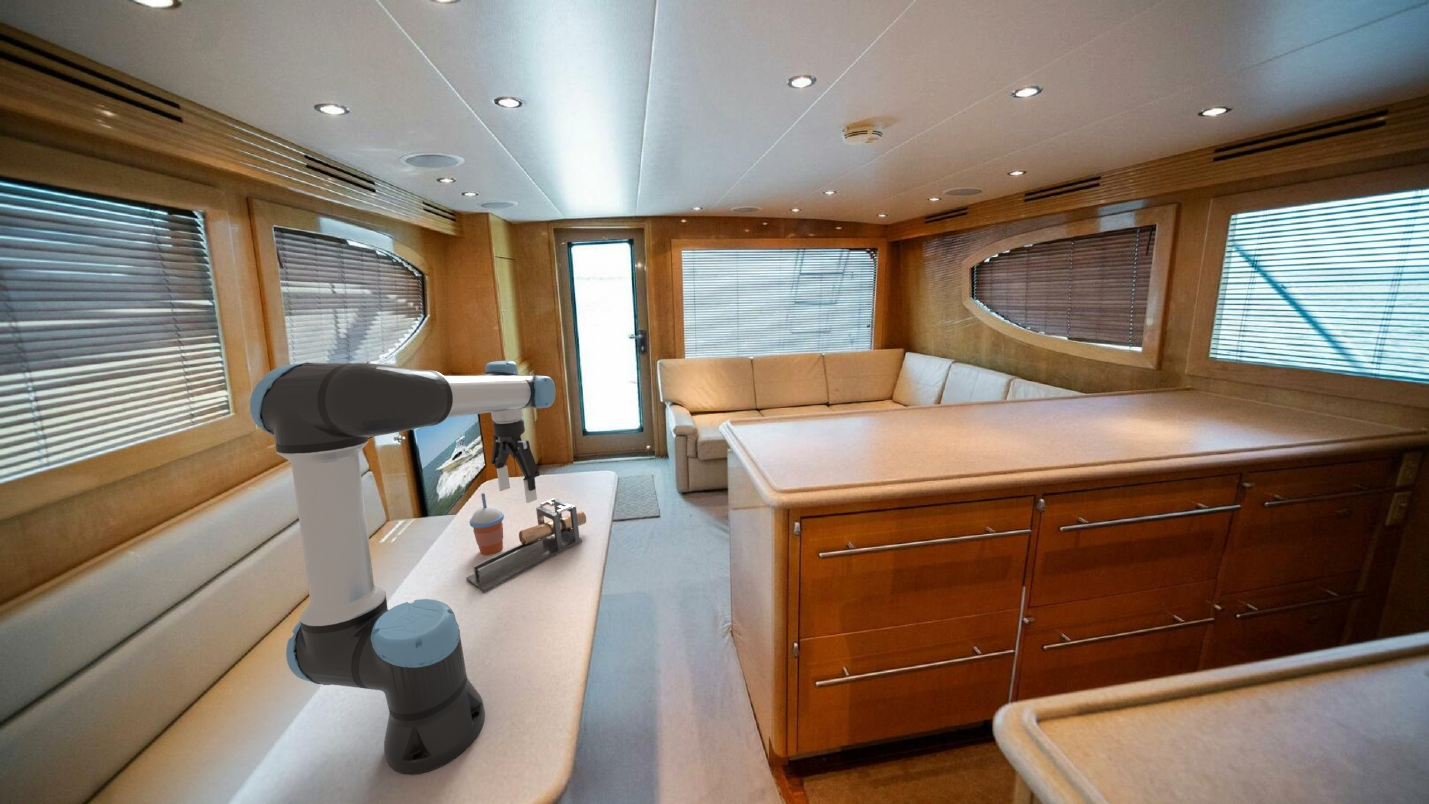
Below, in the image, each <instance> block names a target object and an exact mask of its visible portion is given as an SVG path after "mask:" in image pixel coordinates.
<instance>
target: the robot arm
mask: <svg viewBox="0 0 1429 804" xmlns="http://www.w3.org/2000/svg"><path fill="white" fill-rule="evenodd" d="M484 371H485V373H483V374H478V375H443V374H442V373H440V372H438V371H436V370H431V369H418V368H417V369H415V368H407V367H400V366H399V367H398V366H395V365H394V366H393V365H387V364H379V363H370V362H354V363H350V362H349V363H347V362H346V363H345V362H344V363H341V362H340V363H339V362H337V363H336V362H324V363H323V362H303V363H293V364H286V365H282V366H279V367H276V368H274V369H271V370H270V371H268V372H267V373H266V374H265V375H264V376H263V377H262V379H260V380H259V381H258V382H257V383H256V384H255V386H254V388H253V390H252V392H251V394H250V398H249V399H250V400H249V411H250V416H251V418H252V421H253V422H254V423H255V425H256V426H257V427H259V428H261V429H262V430H263V431H264V432H265V433H267V434H270V435H271V436H273V438H274V443H275V449H276V454H277V455H278V456H281V457H282V458H284V459H285V460H288V461H289V463H291V469H292V477H293V485H294V490H295V491H294V492H295V493H294V494H295V498H296V506H297V514H298V520H299V527H300V528H299V531H300V536H301V542H302V549H303V559H304V565H305V573H306V579H307V580H306V581H307V586H308V587H307V588H308V593H309V601H310V603H309V604H307V606H306V607H305V608H304V609H303V610H302V611H301V613H300V617H299V620H298V622H297V624H296V625H295V626H294V628H293V629H292V633H293V635H292V636H291V637H289V638H288V640H287V644H286V650H285V657H286V662H287V666H288V667H289V669H290V671H291V672H292V674H294V675H295V676H296V677H297V678H299V679H301V680H303V681H307V682H310V683H313V684H314V685H315V684H316V685H323V686H332V685H333V686H341V687H351V688H357V689H365V690H366V689H367V690H375V691H382V692H383V693H384V695H385V699H386V703H387V708H388V713H389V714H388V720H387V725H386V729H385V730H386V731H385V736H384V741H383V750H384V755H385V758H386V759H385V760H386V762H387V764H388V766H389V767H390V768H391V769H392V770H394V771H395V772H397V773H399V774H405V775H418V774H422V773H423V774H424V773H427V772H431V771H433V770H435V769H438V768H440V767H442V766H444V765H446V764H448V763H449V762H451V761H453V760H454V759H456V758H457V757H458V756H460V755H461V754H462V753H463V752H465V751H466V748H467V749H468V748H469V747H470V746H471V745H472V743H474V741H475V740H476V739H477V737H478V736H479V734H480V732H481V730H482V728H483V727H484V725H485V724H484V723H485V719H486V712H485V705H484V700H483V698H482V696H481V694H480V693H479V692H478V690H477V689H476V688H475V686H474V685H473V683H471V681H470V680H469V678H468V676H467V669H466V663H465V657H464V651H463V645H462V640H461V630H460V627H459V626H460V625H459V623H458V621H457V620H456V616H455V613H454V611H453V609H452V607H450V606H449V605H448V604H447V603H444V602H443V601H440V600H437V599H432V598H431V599H429V598H423V599H422V598H421V599H415V600H413V602H408V601H407V602H403V603H400V604H398V605H395V606H393V607H391V608H390V609H389V608H388V601H387V593H386V591H385V590H384V588H382V587H380V586H376V585H375V582H374V574H373V564H372V557H371V554H372V553H371V547H370V540H369V530H368V521H367V512H366V506H365V505H366V503H365V497H364V487H363V478H362V472H361V463H360V462H361V460H360V452H361V451H362V450H363V449H364V447H365V446H367V444H369V438H370V437H379V436H384V435H385V436H386V435H390V434H394V433H400V432H406V431H410V430H415V429H421V428H425V427H431V426H436V425H439V424H442V423H444V421H446V420H447V419H448V418H455V417H465V416H472V415H480V414H487V413H491V420H492V421H493V422H492V427H493V432H494V433H493V435H492V436H493V437H492V438H493V444H492V450H491V451H492V452H491V459H490V463H491V465H494V467H495V468H496V472H497V473H496V475H497V483H498V488H499V491H500V492H503V491H505V490H509V489H510V488H511V485H510V477H509V471H508V469H509V468H508V462H507V461H508V458H509V456H511V458H512V459H515V461H516V463H517V465H518V466H519V469H520V471H521V472H522V475H523V476H524V478H523V479H522V480H523V487H524V494H525V503H526V504H529V503H531V502H534V501H536V500H538V497H537V495H538V494H537V488H536V487H537V486H536V478H537V477H540V475H541V473H540V471H539V469H538V466H537V463H536V460H535V457H534V455H533V452H532V450H531V445H530V442H529V440H528V439H526V440H522V435H523V434H524V433H525V432H526V431H525V430H526V429H525V421H524V420H525V419H523V416H524V414H523V410H524V409H543V408H545V409H546V408H547V409H548V408H549V407H551V406H552V405H553V404H554V402H555V400H556V394H557V393H556V384H555V382H554V380H553V379H552V378H551V377H550V376H546V375H540V374H539V375H536V374H535V375H519V371H518V366H517V363H516V362H515V361H513V360H497V361H491V362H488V363H486V364H485V370H484ZM455 757H456V758H455Z"/></svg>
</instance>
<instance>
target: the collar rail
mask: <svg viewBox="0 0 1429 804" xmlns="http://www.w3.org/2000/svg"><path fill="white" fill-rule="evenodd" d="M539 505H540V506H538V507H536V508H535V512H536V517H537V518H536V519H537V525H540V524H544V523H546V522H545V518H548V519H550V520H551V521H553V527H554V535H551V536H548V537H545V538H543V539H540V540H537V541H534V542H531V543H528V544H525V545H523V544H522V543H520V544H518V545H515V546H514V547H511V548H509V549H507V550H505V551H503V552H501V553H499V554H498V553H497V554H496V555H495V556H492V557H490V558H488V559H486V560H484V561H481V562H479V563H478V564H476V565H473V567H472V568H473V572H474V573H472V574H471V575H468V576H466V577H465V578H466V582H468V583H469V584H471V585H472V586H473V587H474V588H476V590H477V589H478V590H479V591H480V592H481V593H484V594H485V593H486V592H488V591H490V590H492V589H494V588H496V587H498V586H500V585H501V584H504V583H505V582H508V581H510V580H511V579H513V578H516V577H517V576H519V575H521V574H523V573H525V572H527V571H529V570H531V569H533V568H534V567H536V566H538V565H540V564H542V563H544V562H546V561H548V560H550V559H551V558H553V557H555V556H557V555H560V554H562V553H563V552H565V551H567V550H569V549H571V548H572V547H576V545H579V544H580V543H582V542H583V539H582V538H581V537H580V530H579V526H578V519H577V513H578V512H577V506H576V505H574V504H572V503H569V502H566V501H565V500H562V499H559V498H556V499H555V497H554V498H550V499H547V500H545V501H543V502H541V503H539ZM544 506H550V507H553V506H554V510H551V509H548V508H546V507H544ZM566 511H567V512H570V513H569V515H571V523H572V528H571V529H568V530H566V531H564V532H561V530H560V521H559V518H562V517H563V515H562V513H564V512H566Z"/></svg>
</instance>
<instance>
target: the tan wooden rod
mask: <svg viewBox="0 0 1429 804" xmlns="http://www.w3.org/2000/svg"><path fill="white" fill-rule="evenodd" d="M586 516H587V515H586V513H585V512H584V511H578V512H577V519H578V527H580V526H583V525H585V524H586V523H587V517H586ZM559 521H560V530H561V532H564V531H566V530H568V529H572V523H571V514H569V515H565V516H562V518H559ZM553 535H554V527H553V520H550V521H547V522H545V523H544V524H540V525H538V524H537V525H535V526H532V527H529V528H525V529H522V530H520V531H519V532H518V539H519V542H520V544H523V545H525V544H528V543H531V542H534V541H537V540H540V539H543V538H545V537H548V536H553Z"/></svg>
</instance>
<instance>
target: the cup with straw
mask: <svg viewBox="0 0 1429 804" xmlns="http://www.w3.org/2000/svg"><path fill="white" fill-rule="evenodd" d="M485 493H486V492H483V493H481V494H480V495H481V502H482V507H479V508H477V509H476V510H475V511H474V513H473V515H472V516H471V518H470V519H469V525H470V527H471V528H473V534H474V538H475V542H476V545H477V546H478V549H479V552H480V555H482V556H492V555H495V554H496V555H497V554H498V553H499V552H501V551H502V550H503V548H504V542H503V541H504V540H503V539H504V524H503V520H504V518H505V515H504V513H503V511H501V510H499V509H498V508H497V507H496V506H493V505H487V500H486V495H485Z"/></svg>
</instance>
